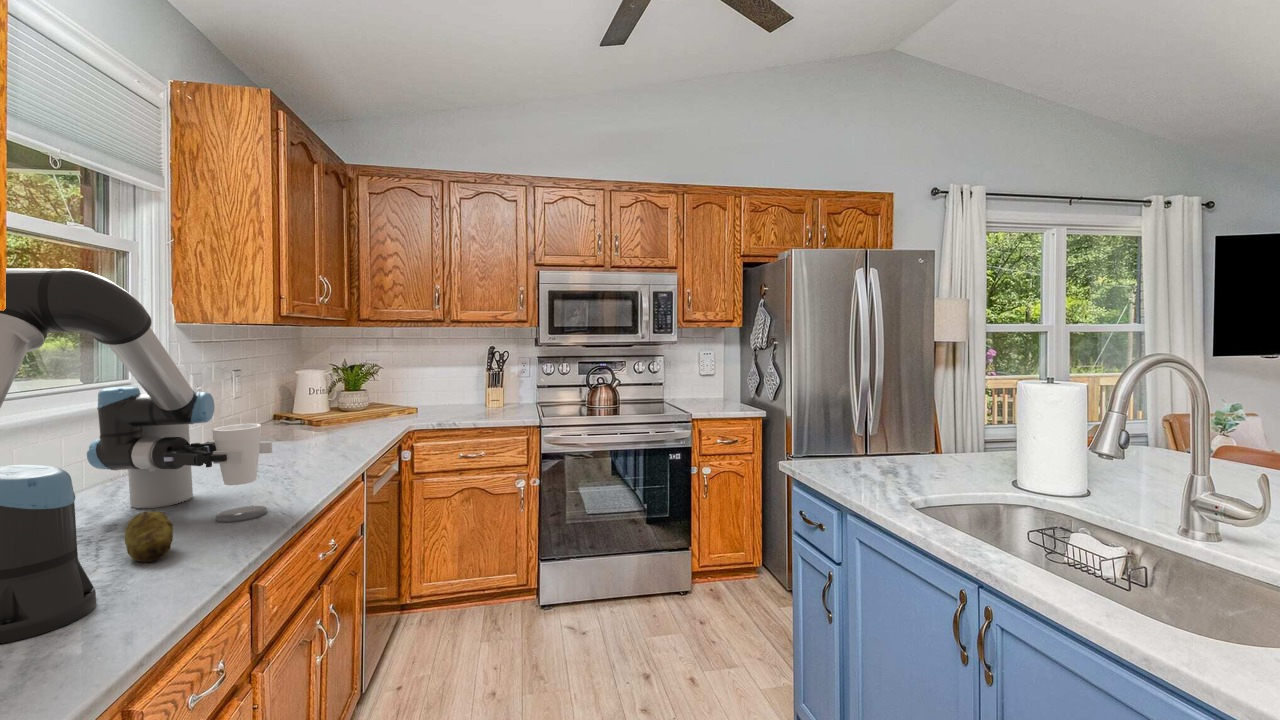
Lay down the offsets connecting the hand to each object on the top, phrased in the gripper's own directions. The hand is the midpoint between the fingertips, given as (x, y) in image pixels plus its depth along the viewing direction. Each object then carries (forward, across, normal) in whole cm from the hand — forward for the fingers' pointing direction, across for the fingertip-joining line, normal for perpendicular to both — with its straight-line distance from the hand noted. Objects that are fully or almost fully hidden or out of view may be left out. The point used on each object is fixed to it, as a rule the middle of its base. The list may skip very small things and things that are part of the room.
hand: (257, 452), depth 139 cm
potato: (-6, +25, -15) cm, 30 cm away
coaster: (-4, 0, -15) cm, 16 cm away
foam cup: (-4, 0, -7) cm, 8 cm away
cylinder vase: (-33, -12, -15) cm, 38 cm away
